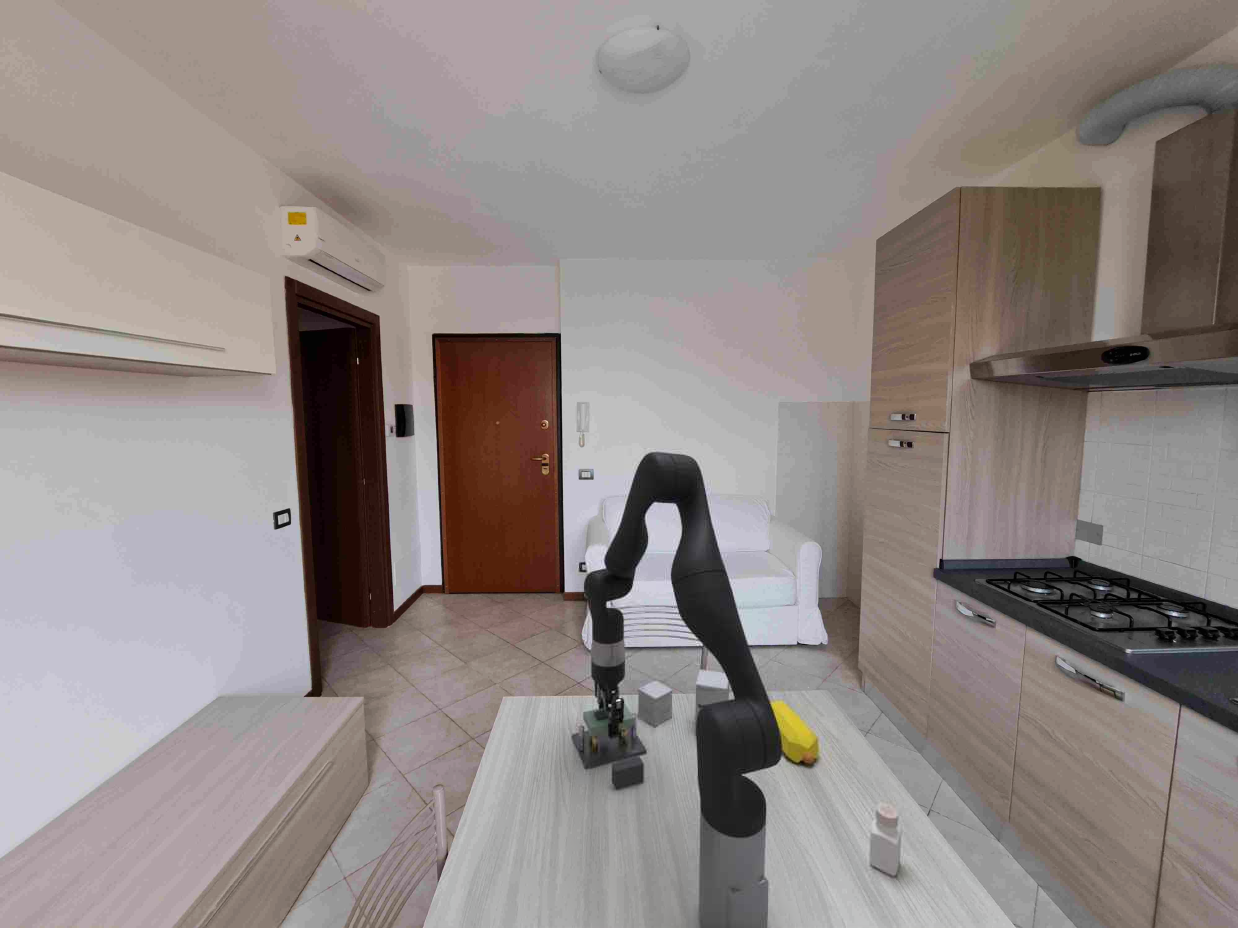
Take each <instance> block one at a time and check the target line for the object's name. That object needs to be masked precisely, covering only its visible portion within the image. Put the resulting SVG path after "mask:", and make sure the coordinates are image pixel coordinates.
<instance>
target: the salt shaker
mask: <svg viewBox="0 0 1238 928" xmlns="http://www.w3.org/2000/svg"><path fill="white" fill-rule="evenodd" d="M875 809H876V810H875V818H874V820H873V822H872V825H871V828H870V837H869V854H868V855H869V858H868V860H869V864H870V865H871V866H873V867H874V868H876V869H878V870H880V871H881V872H883V873H886V874H887V875H890V876H892V877H895V876H896V875H897V873H898V869H899V866H900V862H901V847H902V846H901V845H902V829H901V828H900V827H899V811H898V810H897V809H896V808H895V807H894V806H893V805H890V804H888V803H886V802H880V803H878V804H877V805H876V808H875Z"/></svg>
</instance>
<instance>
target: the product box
mask: <svg viewBox="0 0 1238 928" xmlns="http://www.w3.org/2000/svg"><path fill="white" fill-rule="evenodd" d="M637 693H638V699H637V700H638V701H637V703H638V704H637V708H638V709H637V710H638V712H637V717H639V718H640V719H641V720H644V721H645V722H646V723H648V724H650V725H652V726H653V727H654V728H655V727H657V726H660V725H661V724H662V723H665V722H666V721H668V720H670V719H671V718H672V717H673V690H672V688H670V687H668V686H666V685H665V684H664V683H663V684H662V683H661V682H659V681H657V680H654V681H652V682H649V683H647V684H645V685H643V686H641V687H639V688H638V692H637Z"/></svg>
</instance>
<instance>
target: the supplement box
mask: <svg viewBox="0 0 1238 928" xmlns="http://www.w3.org/2000/svg"><path fill="white" fill-rule="evenodd" d="M729 697H730V684H729V681H728V679H727V676H726V674H725V672H719V671H713V670H706V669H701V668H700V669H699V671H698V675H697V679H696V683H695V710H694V711H695V716H694V719H695V721H694V735H695V736H696V721H697V716H698V713H699V711H700V709H701V708H702V707H703V706H704V705H707V704H711V703H717V702H722V701H727V700H730V698H729Z"/></svg>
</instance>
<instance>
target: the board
mask: <svg viewBox="0 0 1238 928" xmlns="http://www.w3.org/2000/svg"><path fill="white" fill-rule="evenodd" d="M609 707H611V705H610V706H609ZM632 714H633V713H632V712H631V711H630V709H629V708H628V706H627V705H626V703H625V702H624V715H623V723H621V724H619V728H622V727H626V726H631V725H634V717H633V715H632ZM582 715H583V716H582V718H583V721H584V723H585V725H586V727H587V729H588V730H589V732H590V734H591V735H593V734H597V733H601V732H605V731H608V717H607V712H606V711H605V710H604V708H601V709H599V708H596V709H592V710H588V711H583V712H582ZM588 730H587V731H588Z"/></svg>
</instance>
